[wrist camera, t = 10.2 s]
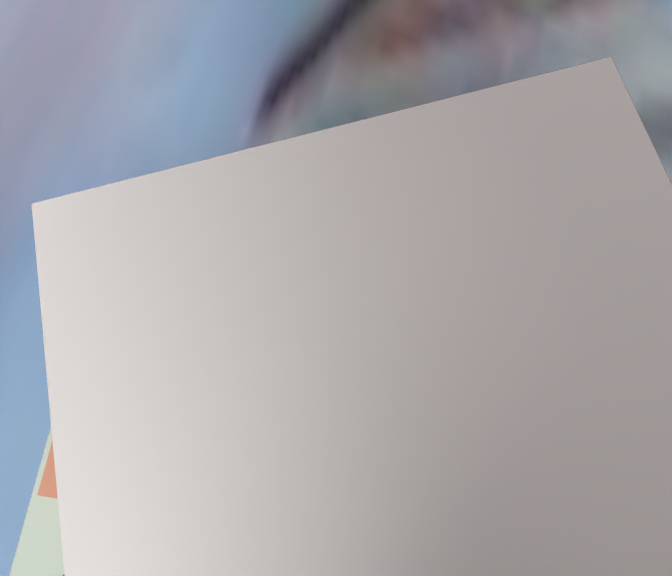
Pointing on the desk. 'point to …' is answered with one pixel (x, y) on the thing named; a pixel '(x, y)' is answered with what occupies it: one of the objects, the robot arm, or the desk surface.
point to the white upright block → (373, 348)
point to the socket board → (41, 525)
